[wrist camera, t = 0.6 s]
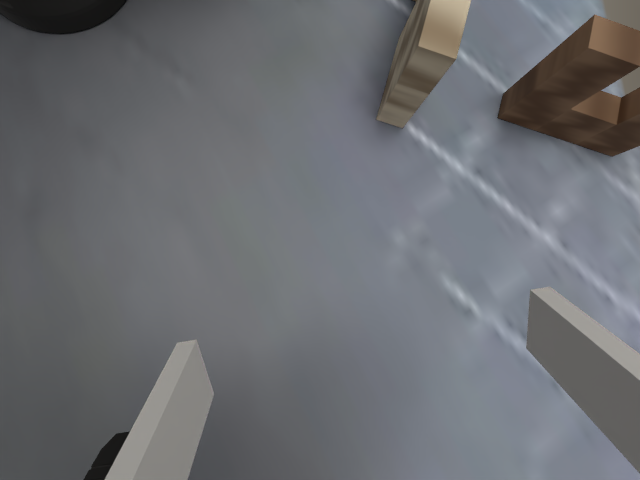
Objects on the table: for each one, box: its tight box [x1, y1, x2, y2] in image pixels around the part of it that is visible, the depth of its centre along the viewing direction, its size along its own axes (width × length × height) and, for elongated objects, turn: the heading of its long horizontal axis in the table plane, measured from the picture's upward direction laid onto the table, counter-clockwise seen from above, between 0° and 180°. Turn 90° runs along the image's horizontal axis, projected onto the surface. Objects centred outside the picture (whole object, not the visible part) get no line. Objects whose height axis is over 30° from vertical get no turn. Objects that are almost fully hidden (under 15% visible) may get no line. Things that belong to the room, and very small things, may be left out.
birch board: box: [376, 0, 471, 128], centre depth 34 cm, size 17×3×12 cm, turn 164°
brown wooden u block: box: [498, 15, 640, 156], centre depth 35 cm, size 14×3×12 cm, turn 74°
